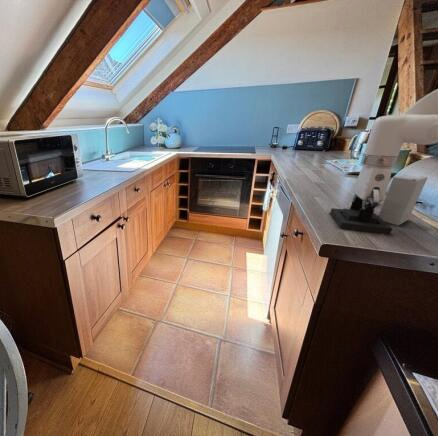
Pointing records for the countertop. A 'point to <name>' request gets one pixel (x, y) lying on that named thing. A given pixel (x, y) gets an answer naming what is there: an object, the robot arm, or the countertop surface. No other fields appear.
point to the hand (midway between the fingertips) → (358, 216)
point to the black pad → (355, 215)
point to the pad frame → (360, 223)
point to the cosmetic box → (401, 198)
